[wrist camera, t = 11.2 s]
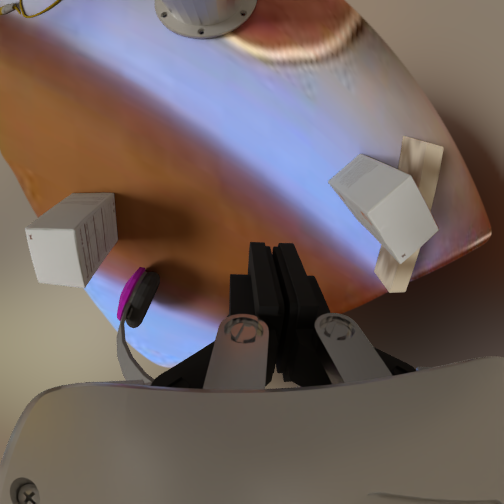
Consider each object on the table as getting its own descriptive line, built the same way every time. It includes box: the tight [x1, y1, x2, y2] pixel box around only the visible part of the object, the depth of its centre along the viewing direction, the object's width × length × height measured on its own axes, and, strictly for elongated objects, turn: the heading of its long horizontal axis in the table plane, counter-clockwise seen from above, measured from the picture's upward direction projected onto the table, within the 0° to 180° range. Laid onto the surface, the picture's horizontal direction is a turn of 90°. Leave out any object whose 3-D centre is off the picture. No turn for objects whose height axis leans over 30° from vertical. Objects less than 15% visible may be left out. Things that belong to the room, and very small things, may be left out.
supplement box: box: [25, 193, 118, 288], centre depth 32 cm, size 7×7×13 cm
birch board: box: [374, 136, 444, 292], centre depth 37 cm, size 22×3×6 cm, turn 176°
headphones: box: [117, 267, 229, 383], centre depth 36 cm, size 21×9×20 cm, turn 61°
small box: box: [328, 154, 439, 264], centre depth 32 cm, size 8×6×13 cm
